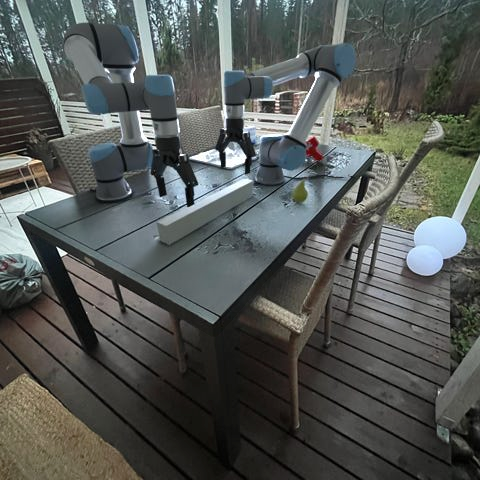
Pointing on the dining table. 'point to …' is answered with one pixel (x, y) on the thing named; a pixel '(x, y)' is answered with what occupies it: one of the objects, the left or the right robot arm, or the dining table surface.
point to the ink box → (251, 132)
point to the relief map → (212, 158)
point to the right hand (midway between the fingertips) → (235, 170)
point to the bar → (203, 211)
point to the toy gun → (313, 149)
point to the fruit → (300, 192)
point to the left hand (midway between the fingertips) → (176, 200)
